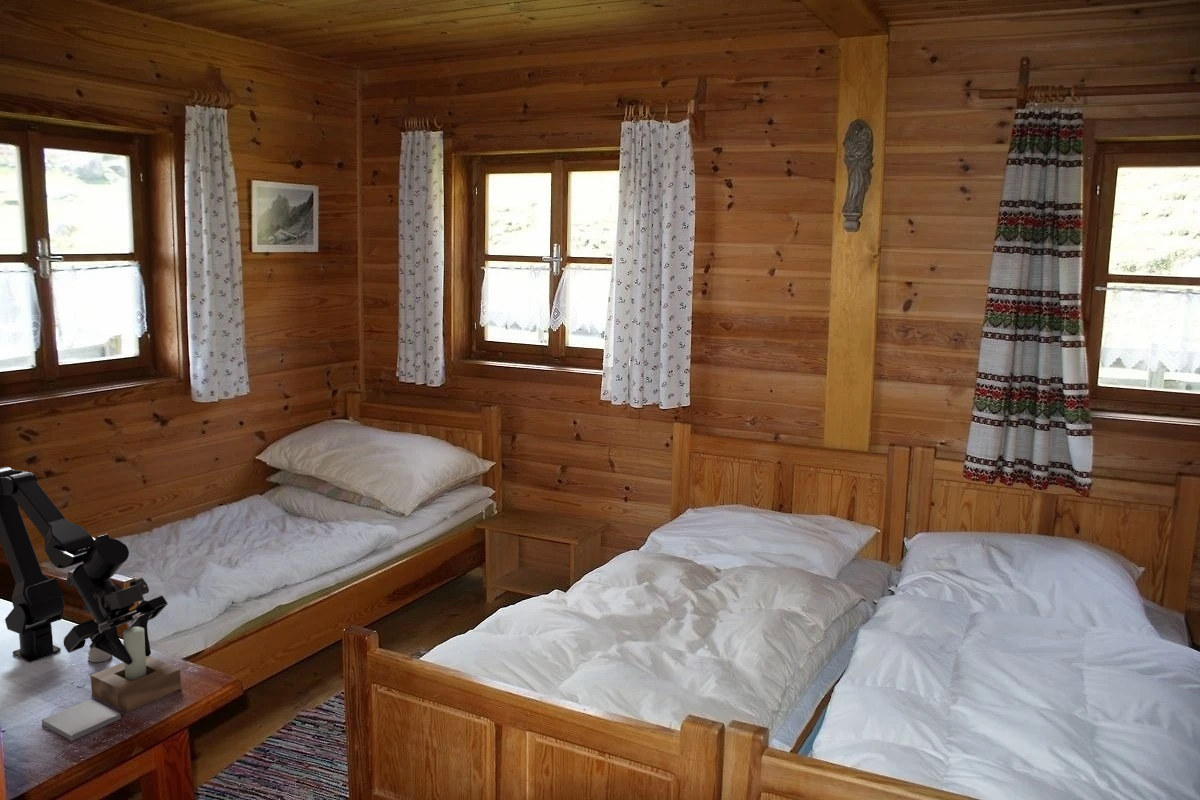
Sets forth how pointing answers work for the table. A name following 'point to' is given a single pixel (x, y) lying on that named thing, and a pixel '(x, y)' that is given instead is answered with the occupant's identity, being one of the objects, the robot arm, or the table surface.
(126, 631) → the sage peg
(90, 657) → the rook chess piece
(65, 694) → the table surface
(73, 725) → the slate tile
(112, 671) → the walnut pocket block
